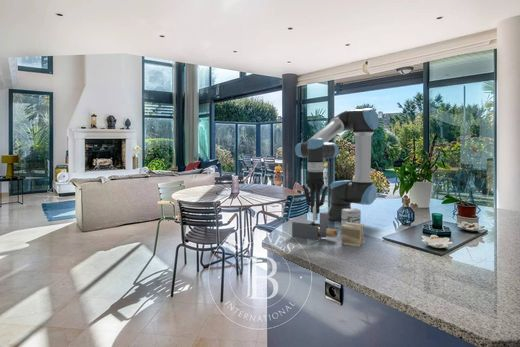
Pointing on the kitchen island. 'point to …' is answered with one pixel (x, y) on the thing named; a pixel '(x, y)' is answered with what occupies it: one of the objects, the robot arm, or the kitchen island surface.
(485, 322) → the kitchen island surface
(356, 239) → the socket
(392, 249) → the kitchen island surface
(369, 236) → the kitchen island surface
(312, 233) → the sleeve
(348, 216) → the ink box
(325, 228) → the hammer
